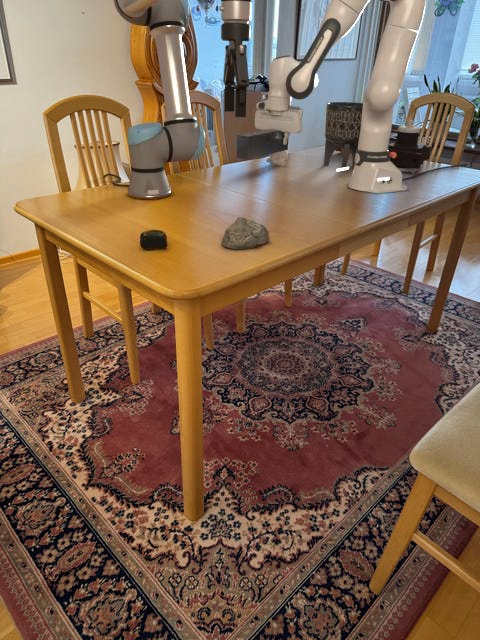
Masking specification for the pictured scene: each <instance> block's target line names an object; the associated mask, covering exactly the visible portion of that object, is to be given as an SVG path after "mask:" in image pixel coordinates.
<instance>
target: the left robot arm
mask: <svg viewBox="0 0 480 640" xmlns="http://www.w3.org/2000/svg"><path fill="white" fill-rule="evenodd" d="M220 1H221V3H220V6H219V7H218V11H220V12H221V13H220V18H221V21H222V22H223V23H221V25H220V39H221V41H224V42H228V44H226V45H225V47H224V48H225V55H224V65H223V76H222V83H223V85H224V112H225V113H226V112H234V117H235V118H246V117H247V89H248V88H249V86H250V81H249V80H250V78H249V67H248V55H247V54H248V53H247V52H248V51H247V49H248V46H247V44H244V43H243V42H250V41H251V25H250V22H251V21H252V0H220ZM113 3H114V7H115V9H116V11H117V13H118V14H119V16H120V17H121V18H122V19H124V20H125V21H126V22H128V23H129V24H131V25H135V26H139V27H148V29H149V35H150V36H151V38H153V39H154V41H155V45H156V52H157V58H158V64H159V72H160V77H161V85H162V92H163V98H164V99H163V100H164V106H165V112H166V113H165V114H166V118H165V119H164V120H163V122H162V123H163V125H162V123H161V122H157V121H155V122H143V123H138V124H135V125H132V126H131V127H129V129H128V130H127V145H128V152H129V153H128V154H129V163H130V177H129V184H124V183H123V184H122V183H120V182H121V181H122V180H123V179H122V178H121V176H118V175H116V174H114V173H106V174H104V175H103V177H102V178H106V177H114V178H117V180H114V181H113V182H112V185H113V186H117V187H123V188H124V187H127V196H128V197H130V198H132V199H137V200H146V201H147V200H161V199H165V198H167V197H170V196H171V195H172V188H171V185H170V184H169V180H168V177H167V174H166V170H165V169H166V167H165V163H166V164H167V163H178V162H190V161H195V160H199V159H200V158H201V157H202V156H203V154H204V152H205V147H206V133H205V130H204V128H203V126H202V125H201V124H198V121H197V117H195V116H194V115H193V114H192V108H191V101H190V94H189V85H188V78H187V70H186V62H185V55H184V47H183V41H182V37H183V36H184V34H185V32H186V28H187V27H188V25H189V22H190V17H189V15H190V5H189V1H188V0H113Z"/></svg>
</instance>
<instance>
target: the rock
mask: <svg viewBox="0 0 480 640" xmlns="http://www.w3.org/2000/svg"><path fill="white" fill-rule="evenodd" d="M269 241H270V233H269V230H268V229H267V228H266V226H265V225H263V224H261V223H259V222H256V221H255V220H252V219H247V218H245V217H241V216H238V217H237V218H236V219H235V221H234V222H233V223H232V224H231V225H229V226H228V227H227V228H226V229H225V231H224V233H223V236H222V239H221V244H222V247H224V248H229V249H231V250H245V249H254V248H257V247H259V246H260V245H264V244H266V242H269Z"/></svg>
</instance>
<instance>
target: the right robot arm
mask: <svg viewBox="0 0 480 640" xmlns="http://www.w3.org/2000/svg"><path fill="white" fill-rule="evenodd" d="M370 1H371V0H330V1H329V4H328V6H327V7H326V10H325V13H324V14H323V18H322V20H321V24H320V26H319V29H318V32H317V34H316V36H315V38H314V39H313V41H312V43H311V45H310V46H309V48H308V49H307V52H306V53H305V55H304V56H303V59H302V60H301V61H300V62H299V61H298V60H296V59H295V58H293V56H292V55H281V56H278V57H275V58H273V59H272V60H271V62H270V66H269V71H268V72H269V73H268V87H269V90H268V95H267V99H265V100H261V101H259V102H257V103H256V111H255V112H254V113H255V114H254V127H255V129H256V130H261V131H262V130H268V129H273V130H281V132H284V135H285V137H284V139H282V142H281V144H283V145H286V144H287V139H288V138H289V139H290V136H291V134H301V133H302V131H303V115H304V111H303V109H302V108H301V107H300V106H295V105H292V98H293V99H294V100H297V101H299V100H300V101H301V100H305V99H306V98H308V97H309V96H310V95H311V94H312V93H314V91H315V90H316V89H317V87H318V85H319V76H318V71H319V69H320V68H321V66H322V65H323V63H324V61H325V60H326V58H327V56H328V54H329V52H331V50H332V49H333V47H334V46H335V45H336V44H337V43H338V42H339V41H340V40H341V39H343V38H344V37H345V36H347V35H348V33H349V32H350V31H351V30H352V29H353V27H354V26H355V24H357V22H358V21H359V18H360V16H361V15H362V13H363V11H364V9H365V8H366V6H367V5H368V3H369V2H370ZM379 1H380V2H385V3H389V7H390V9H389V14H388V17H387V21H386V23H385V27H384V30H383V34H382V36H381V40H380V43H379V46H378V50H377V53H376V57H375V61H374V65H373V69H372V71H371V72H372V73H371V76H370V79H369V80H368V82H367V83H366V85H365V88H364V93H363V102H362V103H363V110H362V119H361V128H360V136H359V143H358V148H357V149H356V155H355V166H353V171H352V174H351V176H350V180H349V182H348V184H347V187H348V188H350V189H352V190H355V191H359V192H367V193H372V194H386V193H387V194H388V193H393V192H394V193H395V192H404V191H408V186H406V184H404V183H403V181H407V180H411V179H413V178H416V177H419V176H422V175H424V174H427V173H431V172H434V171H439V170H443V169H449V168H450V169H451V168H457V167H459V168H460V167H465V166H468V163H463V164H454V165H449V166H441V167H436V168H432V169H427V170H425V171H422V172H419V173H417V174H414V175H412V176H409V177H404V178H403V173H402V171H400V170H399V169H398V168H397V167H396V166H395V165H394V164H393V163H392V162H391V161H390V157H392V158H395V157H396V156H397V154H395V152H390V151H388V146H389V144H390V139H391V135H392V127H393V125H392V124H393V113H394V106H395V105H396V104H397V102H398V100H399V98H400V94H401V92H402V88H403V85H404V81H405V78H406V75H407V70H408V67H409V62H410V59H411V56H412V53H413V51H414V47H415V44H416V41H417V38H418V35H419V33H420V29H421V26H422V23H423V20H424V16H425V10H426V4H427V0H379ZM289 139H288V140H289ZM349 169H350V166H347V167H345V168H341V167H340V168H336V170H335V172H344V171H343V170H346V171H347V170H349Z"/></svg>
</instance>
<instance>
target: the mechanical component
mask: <svg viewBox="0 0 480 640" xmlns="http://www.w3.org/2000/svg"><path fill="white" fill-rule="evenodd" d="M414 124H415V119H407V121H406V125H399V126H398V127H397V133H396V139H395V142H393V143H392V142H391V143H389V145H388V151H390V152H395V154H397V156H396V157H395V158H392V157H390V161H391V162H392V163H393V164H394V165H395V166H396V167H397V168H398V169H399V170H400V171H401V172H410V174H415V173H416V171H419V170H420V169H421V168H423V166H424V162H425V161H428V160H430V157H431V154H432V148H433V146H432V145H429V144H427V143H425V142H420V141H419V137H420V133H421V129H422V128H421V127H420V126H416V125H414Z"/></svg>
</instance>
